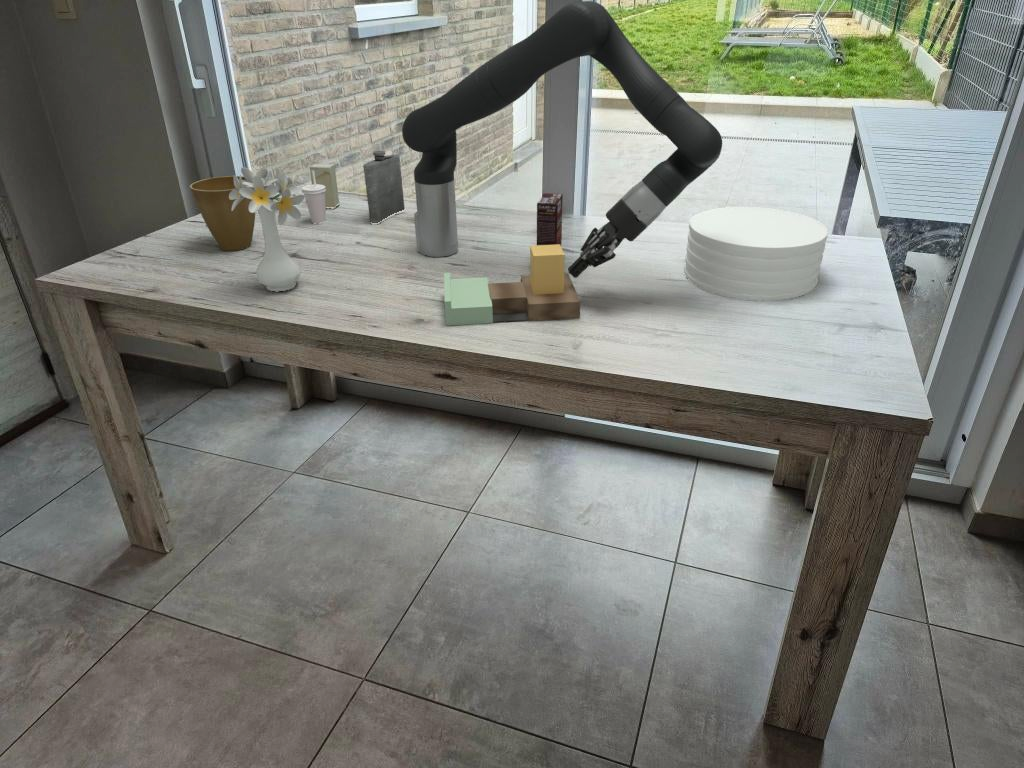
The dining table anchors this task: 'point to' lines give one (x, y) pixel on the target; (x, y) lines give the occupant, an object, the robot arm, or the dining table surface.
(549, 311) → the board
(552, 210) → the supplement box
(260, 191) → the flower vase
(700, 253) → the plate stack
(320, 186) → the smoothie
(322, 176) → the skincare box
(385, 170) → the flask
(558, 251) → the block
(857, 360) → the dining table surface
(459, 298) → the pale green stepped block
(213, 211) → the plant pot
